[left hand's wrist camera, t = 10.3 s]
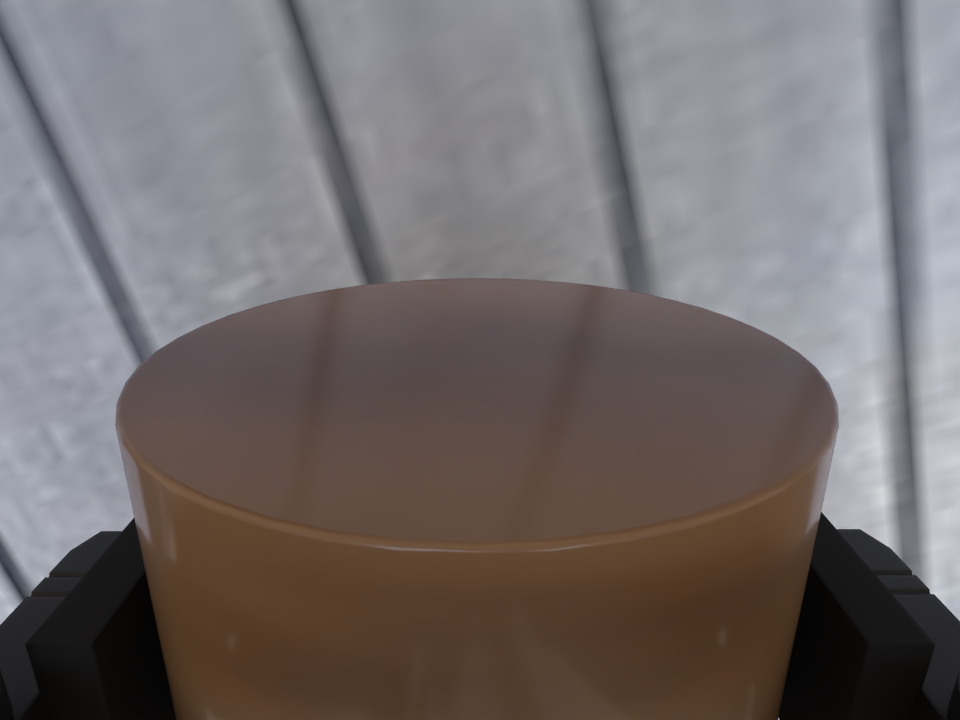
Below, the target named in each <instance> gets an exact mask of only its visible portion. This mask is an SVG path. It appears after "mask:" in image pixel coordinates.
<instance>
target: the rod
mask: <svg viewBox="0 0 960 720" xmlns="http://www.w3.org/2000/svg"><path fill="white" fill-rule="evenodd" d="M115 426H116V431H117V436H118V441H119V445H120V450H121V455H122V460H123V465H124V469H125V474H126V479H127V484H128V489H129V494H130V498H131V503H132V508H133V513H134V518H135V523H136V527H137V532H138V537H139V542H140V547H141V552H142V556H143V561H144V566H145V571H146V576H147V581H148V585H149V590H150V595H151V600H152V605H153V610H154V614H155V619H156V624H157V629H158V634H159V639H160V643H161V648H162V653H163V658H164V663H165V668H166V672H167V677H168V682H169V687H170V692H171V697H172V701H173V706H174V711H175V716H176V720H778V716H779V711H780V706H781V701H782V697H783V692H784V687H785V682H786V677H787V673H788V668H789V663H790V658H791V653H792V649H793V644H794V639H795V634H796V629H797V625H798V620H799V615H800V610H801V605H802V600H803V596H804V591H805V586H806V581H807V576H808V572H809V567H810V562H811V557H812V552H813V548H814V543H815V538H816V533H817V528H818V524H819V519H820V514H821V509H822V504H823V500H824V495H825V490H826V485H827V480H828V476H829V471H830V466H831V461H832V456H833V451H834V447H835V442H836V437H837V432H838V427H839V421H838V405H837V402H836V399H835V397H834V394H833V392H832V390H831V387H830V385H829V383H828V382H827V380H826V379H825V378H824V377H823V375H822V374H821V373H820V372H819V370H818V369H817V368H816V367H815V366H814V365H813V364H812V363H810V362H809V361H808V360H807V359H806V358H805V357H803V356H802V355H801V354H800V353H799V352H797V351H796V350H794V349H793V348H791V347H789V346H788V345H786V344H785V343H783V342H782V341H780V340H778V339H777V338H775V337H773V336H771V335H769V334H767V333H765V332H763V331H761V330H759V329H757V328H755V327H752V326H750V325H747V324H745V323H742V322H740V321H737V320H735V319H732V318H730V317H727V316H724V315H721V314H718V313H715V312H712V311H709V310H706V309H703V308H700V307H696V306H693V305H689V304H685V303H682V302H678V301H674V300H670V299H665V298H661V297H656V296H652V295H647V294H642V293H636V292H631V291H625V290H620V289H613V288H606V287H599V286H592V285H583V284H574V283H565V282H552V281H539V280H520V279H484V278H471V279H433V280H414V281H401V282H389V283H380V284H370V285H362V286H354V287H347V288H340V289H334V290H328V291H322V292H317V293H311V294H306V295H302V296H297V297H293V298H288V299H283V300H279V301H276V302H272V303H268V304H264V305H261V306H257V307H253V308H250V309H247V310H244V311H241V312H238V313H235V314H232V315H229V316H226V317H224V318H221V319H219V320H216V321H214V322H211V323H209V324H206V325H204V326H201V327H199V328H197V329H195V330H193V331H191V332H189V333H187V334H185V335H183V336H181V337H179V338H177V339H175V340H174V341H172V342H171V343H169V344H167V345H166V346H164V347H163V348H161V349H159V350H158V351H156V352H155V353H154V354H153V355H152V356H150V357H149V358H148V359H147V360H146V361H144V362H143V363H142V364H141V365H140V366H139V367H138V368H137V369H136V370H135V372H134V373H133V374H132V375H131V377H130V378H129V379H128V380H127V381H126V383H125V385H124V388H123V390H122V392H121V394H120V397H119V399H118V402H117V405H116V422H115Z"/></svg>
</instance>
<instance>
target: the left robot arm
mask: <svg viewBox="0 0 960 720" xmlns="http://www.w3.org/2000/svg"><path fill="white" fill-rule="evenodd" d="M49 574H50V575H49V578H44V579H43V580H42V581H41V583H40V584H39V585H38V586H37V587H36V588H35V589H34V590H33V591H32V595H31V597H26V598H25V599H24V601H23V602H22V603H21V604H20V605H19V606H18V607H17V608H16V609H15V610H14V611H13V612H12V613H11V614H10V615H9V616H8V618H7V619H6V620H5V621H4V622H3V623H2V624H1V625H0V720H176V716H175V711H174V706H173V701H172V697H171V692H170V687H169V682H168V677H167V672H166V668H165V663H164V658H163V653H162V648H161V643H160V639H159V634H158V629H157V624H156V619H155V614H154V610H153V605H152V600H151V595H150V590H149V585H148V581H147V576H146V571H145V566H144V561H143V556H142V552H141V547H140V542H139V537H138V532H137V527H136V523H135V518H134V519H133V520H132V521H131V522H130V523H129V524H128V526H127V527H126V528H125V529H124V530H123V531H101V532H99V533H98V534H96V535H95V536H93V537H92V538H90V539H88V540H87V541H85V542H84V543H82V544H80V545H79V546H77V547H76V548H74V549H72V550H71V551H70V552H69V553H68V554H67V555H66V556H65V557H64V558H63V559H62V560H61V561H60V562H59V563H58V565H57V566H56V567H55V568H54V569H53V570H52V571H51V572H50V573H49ZM778 717H779V719H780V720H960V621H959V620H958V619H957V618H956V617H955V616H954V615H953V614H952V613H951V612H950V611H949V610H948V609H947V607H946V606H945V605H944V604H943V603H942V602H941V601H940V600H939V599H938V598H937V597H936V596H935V595H934V594H930V592H929V589H928V587H927V586H926V585H925V584H924V583H923V582H922V581H921V580H920V579H919V578H918V577H917V576H916V575H912V571H911V570H910V569H909V567H908V566H907V565H906V564H905V563H904V562H903V561H902V560H901V559H900V558H899V557H898V556H897V555H896V554H895V553H894V552H893V551H892V550H891V549H890V548H889V547H887V546H886V545H884V544H882V543H881V542H879V541H878V540H876V539H874V538H873V537H871V536H870V535H868V534H866V533H865V532H863V531H862V530H860V529H836V528H835V527H834V526H833V525H832V524H831V523H830V521H829V520H828V519H827V518H826V517H825V516H824V515H823V513H822V512H821V514H820V519H819V524H818V528H817V533H816V538H815V543H814V548H813V552H812V557H811V562H810V567H809V572H808V576H807V581H806V586H805V591H804V596H803V600H802V605H801V610H800V615H799V620H798V625H797V629H796V634H795V639H794V644H793V649H792V653H791V658H790V663H789V668H788V673H787V677H786V682H785V687H784V692H783V697H782V701H781V706H780V711H779V716H778Z"/></svg>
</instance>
